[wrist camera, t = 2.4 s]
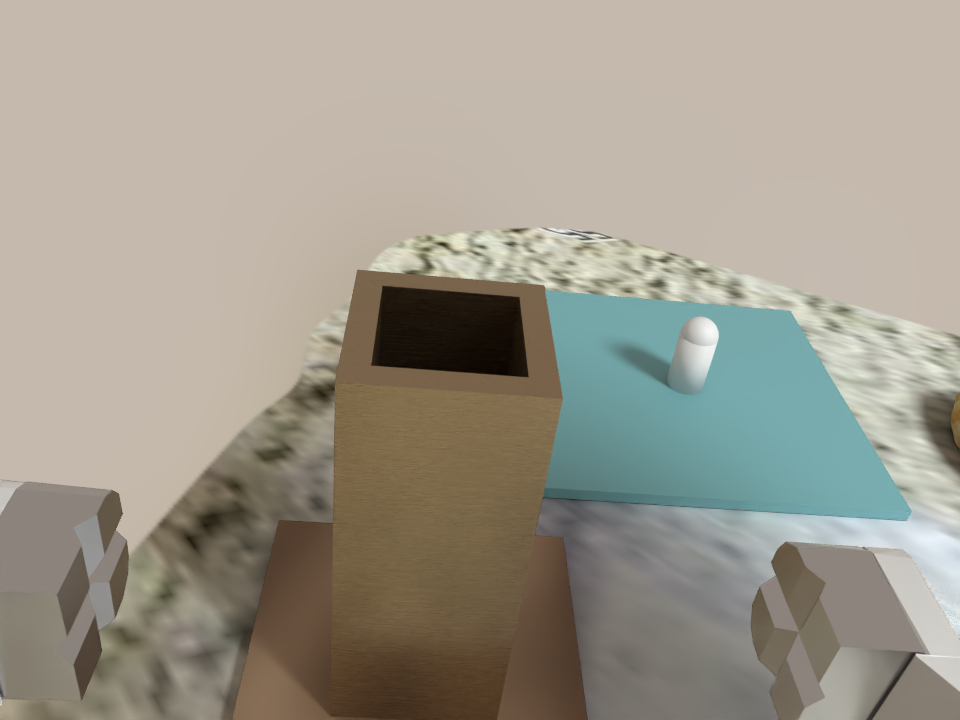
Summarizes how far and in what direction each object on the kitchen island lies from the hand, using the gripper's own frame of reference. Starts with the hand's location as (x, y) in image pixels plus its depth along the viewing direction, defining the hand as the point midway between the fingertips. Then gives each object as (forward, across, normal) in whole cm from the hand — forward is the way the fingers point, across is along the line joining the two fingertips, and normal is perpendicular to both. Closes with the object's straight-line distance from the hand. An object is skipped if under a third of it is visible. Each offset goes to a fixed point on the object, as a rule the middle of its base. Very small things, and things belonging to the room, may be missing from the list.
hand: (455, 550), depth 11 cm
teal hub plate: (+30, -15, +19) cm, 39 cm away
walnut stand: (+12, -1, +19) cm, 23 cm away
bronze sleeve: (+12, -1, +18) cm, 22 cm away
